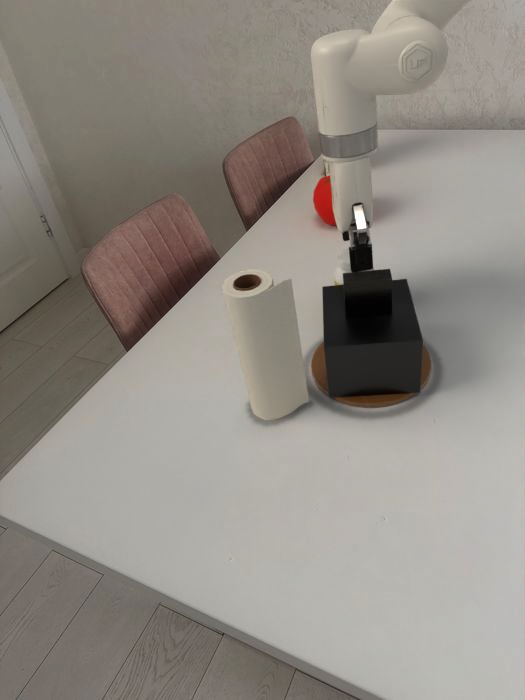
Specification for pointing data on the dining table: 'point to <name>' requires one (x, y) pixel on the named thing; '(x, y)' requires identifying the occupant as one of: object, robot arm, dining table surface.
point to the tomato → (324, 200)
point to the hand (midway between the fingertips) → (357, 253)
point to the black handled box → (370, 342)
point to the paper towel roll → (266, 342)
